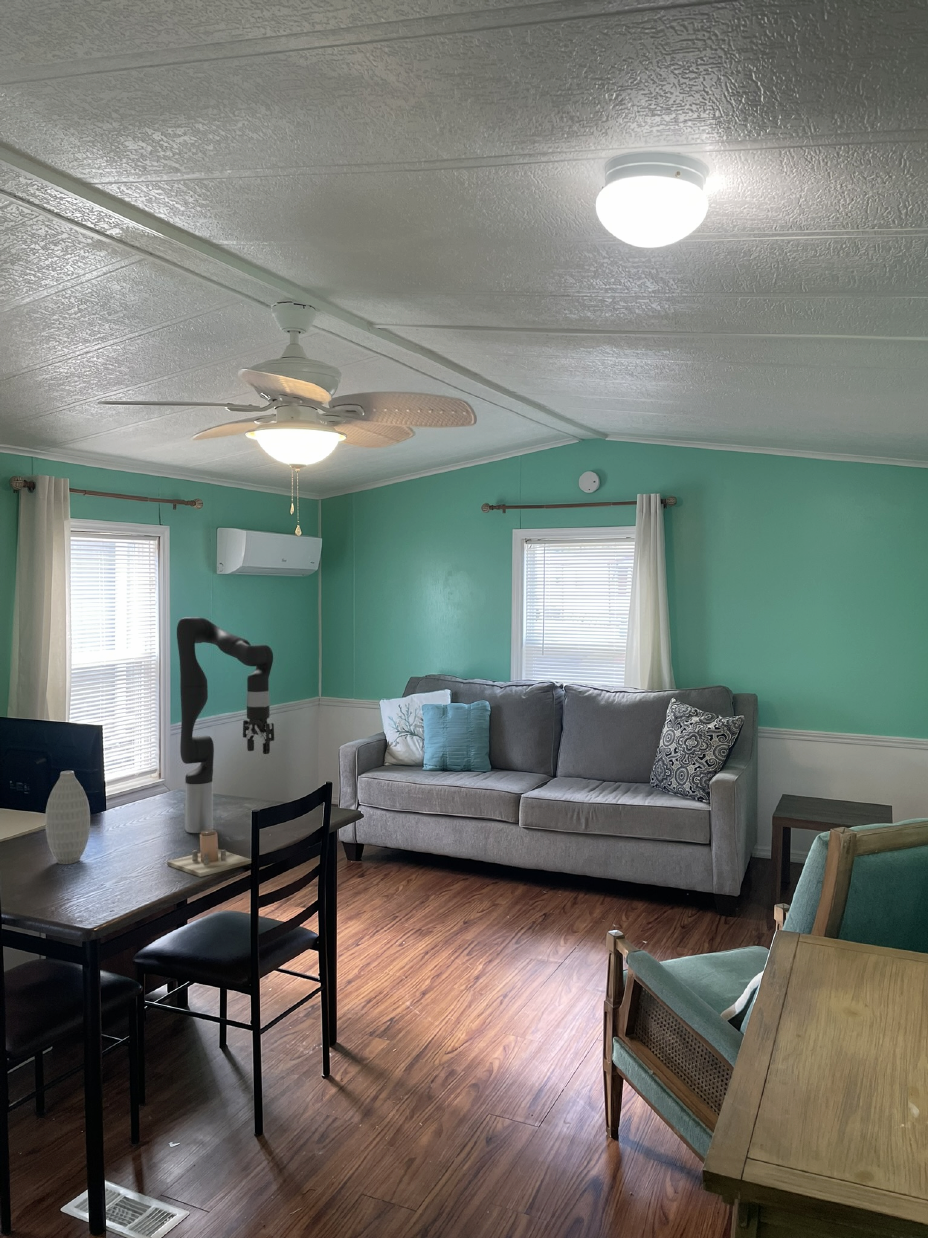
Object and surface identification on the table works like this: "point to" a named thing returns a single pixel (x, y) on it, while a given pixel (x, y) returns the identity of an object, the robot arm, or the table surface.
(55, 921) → the table surface
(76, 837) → the vase
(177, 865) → the peg plate
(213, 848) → the canister
